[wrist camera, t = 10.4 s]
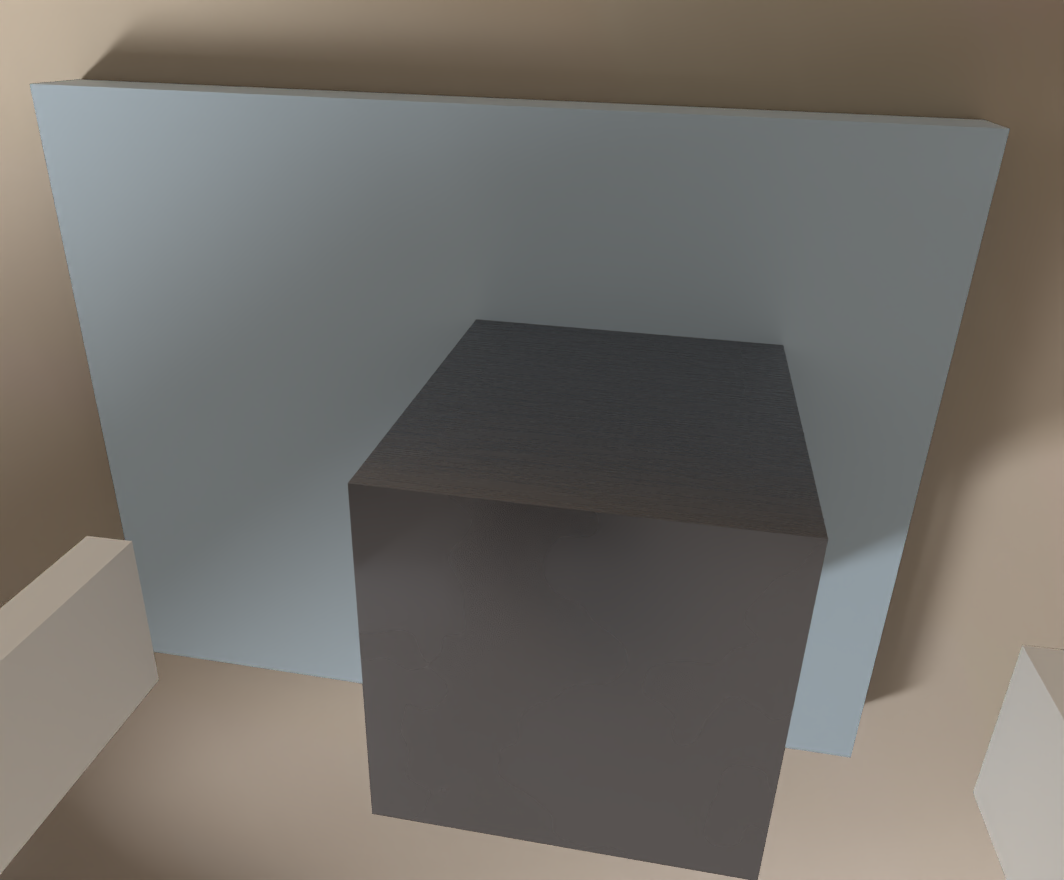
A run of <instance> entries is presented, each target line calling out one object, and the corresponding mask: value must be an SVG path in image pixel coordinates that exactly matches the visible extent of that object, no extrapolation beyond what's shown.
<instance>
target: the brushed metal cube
mask: <svg viewBox="0 0 1064 880" xmlns="http://www.w3.org/2000/svg"><path fill="white" fill-rule="evenodd" d="M348 495H349V509H350V522H351V535H352V549H353V562H354V576H355V589H356V602H357V616H358V629H359V642H360V656H361V669H362V683H363V696H364V709H365V723H366V736H367V749H368V763H369V776H370V789H371V803H372V814H377V815H383V816H388V817H394V818H400V819H405V820H411V821H417V822H423V823H428V824H434V825H440V826H445V827H451V828H457V829H463V830H468V831H474V832H480V833H485V834H491V835H497V836H503V837H508V838H514V839H520V840H525V841H531V842H537V843H543V844H548V845H554V846H560V847H565V848H571V849H577V850H582V851H588V852H594V853H600V854H605V855H611V856H617V857H622V858H628V859H634V860H640V861H645V862H651V863H657V864H662V865H668V866H674V867H680V868H685V869H691V870H697V871H702V872H708V873H714V874H720V875H725V876H731V877H737V878H742V879H748V880H758V875H759V871H760V866H761V861H762V856H763V851H764V847H765V842H766V837H767V832H768V827H769V822H770V818H771V813H772V808H773V803H774V798H775V793H776V789H777V784H778V779H779V774H780V769H781V765H782V760H783V755H784V750H785V745H786V740H787V736H788V731H789V726H790V721H791V716H792V711H793V707H794V702H795V697H796V692H797V687H798V683H799V678H800V673H801V668H802V663H803V658H804V654H805V649H806V644H807V639H808V634H809V630H810V625H811V620H812V615H813V610H814V605H815V601H816V596H817V591H818V586H819V581H820V576H821V572H822V567H823V562H824V557H825V552H826V548H827V543H828V536H827V531H826V527H825V523H824V518H823V514H822V510H821V506H820V501H819V497H818V493H817V488H816V484H815V480H814V475H813V471H812V467H811V462H810V458H809V454H808V449H807V445H806V441H805V436H804V432H803V428H802V424H801V419H800V415H799V411H798V406H797V402H796V398H795V393H794V389H793V385H792V380H791V376H790V372H789V367H788V363H787V359H786V354H785V350H784V346H783V345H776V344H765V343H753V342H741V341H729V340H717V339H705V338H693V337H681V336H669V335H658V334H646V333H634V332H622V331H610V330H598V329H586V328H574V327H562V326H551V325H539V324H527V323H515V322H503V321H491V320H479V319H476V320H475V321H474V323H473V324H472V325H471V326H470V328H469V329H468V330H467V332H466V333H465V334H464V335H463V337H462V338H461V339H460V340H459V342H458V343H457V344H456V346H455V347H454V348H453V349H452V351H451V352H450V353H449V354H448V356H447V357H446V358H445V360H444V361H443V362H442V363H441V365H440V366H439V367H438V369H437V370H436V371H435V372H434V374H433V375H432V376H431V377H430V379H429V380H428V381H427V383H426V384H425V385H424V386H423V388H422V389H421V390H420V392H419V393H418V394H417V395H416V397H415V398H414V399H413V400H412V402H411V403H410V404H409V406H408V407H407V408H406V409H405V411H404V412H403V413H402V414H401V416H400V417H399V418H398V420H397V421H396V422H395V423H394V425H393V426H392V427H391V429H390V430H389V431H388V432H387V434H386V435H385V436H384V437H383V439H382V440H381V441H380V443H379V444H378V445H377V446H376V448H375V449H374V450H373V452H372V453H371V454H370V455H369V457H368V458H367V459H366V460H365V462H364V463H363V464H362V466H361V467H360V468H359V469H358V471H357V472H356V473H355V475H354V476H353V477H352V478H351V480H350V481H349V482H348Z"/></svg>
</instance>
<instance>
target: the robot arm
mask: <svg viewBox="0 0 1064 880" xmlns="http://www.w3.org/2000/svg"><path fill="white" fill-rule="evenodd" d="M158 681H159V677H158V672H157V667H156V662H155V657H154V651H153V646H152V641H151V636H150V631H149V626H148V621H147V615H146V610H145V605H144V600H143V595H142V590H141V585H140V579H139V574H138V569H137V564H136V559H135V554H134V549H133V543H132V541H127V540H119V539H110V538H101V537H93V536H86V537H85V538H84V539H83V540H81V541H80V542H79V543H78V544H77V545H75V546H74V547H73V548H72V549H71V550H69V551H68V552H67V553H66V554H65V555H63V556H62V557H61V558H60V559H59V560H57V561H56V562H55V563H54V564H53V565H51V566H50V567H49V568H48V569H47V570H45V571H44V572H43V573H42V574H41V575H39V576H38V577H37V578H36V579H35V580H34V581H32V582H31V583H30V584H29V585H28V586H26V587H25V588H24V589H23V590H22V591H20V592H19V593H18V594H17V595H16V596H14V597H13V598H12V599H11V600H10V601H8V602H7V603H6V604H5V605H4V606H2V607H1V608H0V874H1V873H2V872H3V871H4V869H5V868H6V867H7V866H8V864H9V863H10V862H11V861H12V860H13V858H14V857H15V856H16V855H17V853H18V852H19V851H20V850H21V849H22V847H23V846H24V845H25V844H26V842H27V841H28V840H29V839H30V837H31V836H32V835H33V834H34V833H35V831H36V830H37V829H38V828H39V826H40V825H41V824H42V823H43V822H44V820H45V819H46V818H47V817H48V815H49V814H50V813H51V812H52V811H53V809H54V808H55V807H56V806H57V804H58V803H59V802H60V801H61V799H62V798H63V797H64V796H65V795H66V793H67V792H68V791H69V790H70V788H71V787H72V786H73V785H74V784H75V782H76V781H77V780H78V779H79V777H80V776H81V775H82V774H83V773H84V771H85V770H86V769H87V768H88V766H89V765H90V764H91V763H92V761H93V760H94V759H95V758H96V757H97V755H98V754H99V753H100V752H101V750H102V749H103V748H104V747H105V746H106V744H107V743H108V742H109V741H110V739H111V738H112V737H113V736H114V735H115V733H116V732H117V731H118V730H119V728H120V727H121V726H122V725H123V723H124V722H125V721H126V720H127V719H128V717H129V716H130V715H131V714H132V712H133V711H134V710H135V709H136V708H137V706H138V705H139V704H140V703H141V701H142V700H143V699H144V698H145V697H146V695H147V694H148V693H149V692H150V690H151V689H152V688H153V687H154V685H155V684H156V683H157V682H158ZM973 794H974V797H975V799H976V802H977V805H978V807H979V810H980V812H981V815H982V818H983V820H984V823H985V825H986V828H987V831H988V833H989V836H990V839H991V841H992V844H993V846H994V849H995V852H996V854H997V857H998V860H999V862H1000V865H1001V867H1002V870H1003V873H1004V875H1005V878H1006V880H1064V650H1062V649H1054V648H1045V647H1036V646H1028V645H1022V647H1021V650H1020V653H1019V656H1018V659H1017V662H1016V665H1015V668H1014V671H1013V674H1012V677H1011V680H1010V683H1009V686H1008V689H1007V692H1006V695H1005V698H1004V701H1003V704H1002V707H1001V710H1000V713H999V716H998V719H997V722H996V725H995V728H994V731H993V734H992V737H991V740H990V743H989V746H988V749H987V752H986V755H985V758H984V761H983V764H982V767H981V770H980V773H979V776H978V779H977V782H976V785H975V788H974V791H973Z"/></svg>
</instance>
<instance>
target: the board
mask: <svg viewBox="0 0 1064 880" xmlns="http://www.w3.org/2000/svg"><path fill="white" fill-rule="evenodd" d="M30 88H31V93H32V98H33V102H34V107H35V112H36V117H37V122H38V126H39V131H40V136H41V141H42V145H43V150H44V155H45V160H46V165H47V169H48V174H49V179H50V184H51V188H52V193H53V198H54V203H55V208H56V212H57V217H58V222H59V227H60V232H61V236H62V241H63V246H64V251H65V255H66V260H67V265H68V270H69V275H70V279H71V284H72V289H73V294H74V298H75V303H76V308H77V313H78V318H79V322H80V327H81V332H82V337H83V341H84V346H85V351H86V356H87V361H88V365H89V370H90V375H91V380H92V384H93V389H94V394H95V399H96V404H97V408H98V413H99V418H100V423H101V427H102V432H103V437H104V442H105V447H106V451H107V456H108V461H109V466H110V471H111V475H112V480H113V485H114V490H115V494H116V499H117V504H118V509H119V514H120V518H121V523H122V528H123V533H124V537H125V540H127V541H132V543H133V549H134V554H135V559H136V564H137V569H138V574H139V579H140V585H141V590H142V595H143V600H144V605H145V610H146V615H147V621H148V626H149V631H150V636H151V641H152V646H153V651H154V652H159V653H165V654H172V655H178V656H185V657H192V658H198V659H205V660H211V661H218V662H225V663H231V664H238V665H244V666H251V667H257V668H264V669H271V670H277V671H284V672H290V673H297V674H304V675H310V676H317V677H323V678H330V679H336V680H343V681H350V682H356V683H362V669H361V656H360V642H359V629H358V616H357V602H356V589H355V576H354V562H353V549H352V535H351V522H350V509H349V495H348V482H349V481H350V480H351V478H352V477H353V476H354V475H355V473H356V472H357V471H358V469H359V468H360V467H361V466H362V464H363V463H364V462H365V460H366V459H367V458H368V457H369V455H370V454H371V453H372V452H373V450H374V449H375V448H376V446H377V445H378V444H379V443H380V441H381V440H382V439H383V437H384V436H385V435H386V434H387V432H388V431H389V430H390V429H391V427H392V426H393V425H394V423H395V422H396V421H397V420H398V418H399V417H400V416H401V414H402V413H403V412H404V411H405V409H406V408H407V407H408V406H409V404H410V403H411V402H412V400H413V399H414V398H415V397H416V395H417V394H418V393H419V392H420V390H421V389H422V388H423V386H424V385H425V384H426V383H427V381H428V380H429V379H430V377H431V376H432V375H433V374H434V372H435V371H436V370H437V369H438V367H439V366H440V365H441V363H442V362H443V361H444V360H445V358H446V357H447V356H448V354H449V353H450V352H451V351H452V349H453V348H454V347H455V346H456V344H457V343H458V342H459V340H460V339H461V338H462V337H463V335H464V334H465V333H466V332H467V330H468V329H469V328H470V326H471V325H472V324H473V323H474V321H475V320H476V319H479V320H491V321H503V322H515V323H527V324H539V325H551V326H562V327H574V328H586V329H598V330H610V331H622V332H634V333H646V334H658V335H669V336H681V337H693V338H705V339H717V340H729V341H741V342H753V343H765V344H776V345H783V346H784V350H785V354H786V359H787V363H788V367H789V372H790V376H791V380H792V385H793V389H794V393H795V398H796V402H797V406H798V411H799V415H800V419H801V424H802V428H803V432H804V436H805V441H806V445H807V449H808V454H809V458H810V462H811V467H812V471H813V475H814V480H815V484H816V488H817V493H818V497H819V501H820V506H821V510H822V514H823V518H824V523H825V527H826V531H827V536H828V543H827V548H826V552H825V557H824V562H823V567H822V572H821V576H820V581H819V586H818V591H817V596H816V601H815V605H814V610H813V615H812V620H811V625H810V630H809V634H808V639H807V644H806V649H805V654H804V658H803V663H802V668H801V673H800V678H799V683H798V687H797V692H796V697H795V702H794V707H793V711H792V716H791V721H790V726H789V731H788V736H787V740H786V745H785V748H791V749H798V750H804V751H811V752H817V753H824V754H831V755H837V756H844V757H850V758H851V754H852V750H853V746H854V742H855V738H856V734H857V730H858V726H859V722H860V718H861V714H862V710H863V706H864V703H865V699H866V695H867V691H868V687H869V683H870V679H871V675H872V671H873V667H874V663H875V659H876V655H877V651H878V647H879V643H880V639H881V635H882V631H883V627H884V624H885V620H886V616H887V612H888V608H889V604H890V600H891V596H892V592H893V588H894V584H895V580H896V576H897V572H898V568H899V564H900V560H901V556H902V552H903V549H904V545H905V541H906V537H907V533H908V529H909V525H910V521H911V517H912V513H913V509H914V505H915V501H916V497H917V493H918V489H919V485H920V481H921V477H922V474H923V470H924V466H925V462H926V458H927V454H928V450H929V446H930V442H931V438H932V434H933V430H934V426H935V422H936V418H937V414H938V410H939V406H940V402H941V399H942V395H943V391H944V387H945V383H946V379H947V375H948V371H949V367H950V363H951V359H952V355H953V351H954V347H955V343H956V339H957V335H958V331H959V327H960V324H961V320H962V316H963V312H964V308H965V304H966V300H967V296H968V292H969V288H970V284H971V280H972V276H973V272H974V268H975V264H976V260H977V256H978V252H979V248H980V245H981V241H982V237H983V233H984V229H985V225H986V221H987V217H988V213H989V209H990V205H991V201H992V197H993V193H994V189H995V185H996V181H997V177H998V173H999V170H1000V166H1001V162H1002V158H1003V154H1004V150H1005V146H1006V142H1007V138H1008V134H1009V130H1010V129H1009V128H1006V127H1003V126H1001V125H998V124H995V123H992V122H989V121H986V120H979V119H956V118H934V117H912V116H889V115H867V114H844V113H822V112H799V111H777V110H755V109H732V108H710V107H687V106H665V105H643V104H620V103H598V102H575V101H553V100H531V99H508V98H486V97H463V96H441V95H418V94H396V93H374V92H351V91H329V90H306V89H284V88H262V87H239V86H217V85H194V84H172V83H150V82H127V81H105V80H82V79H77V80H66V81H55V82H44V83H33V84H30Z"/></svg>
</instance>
